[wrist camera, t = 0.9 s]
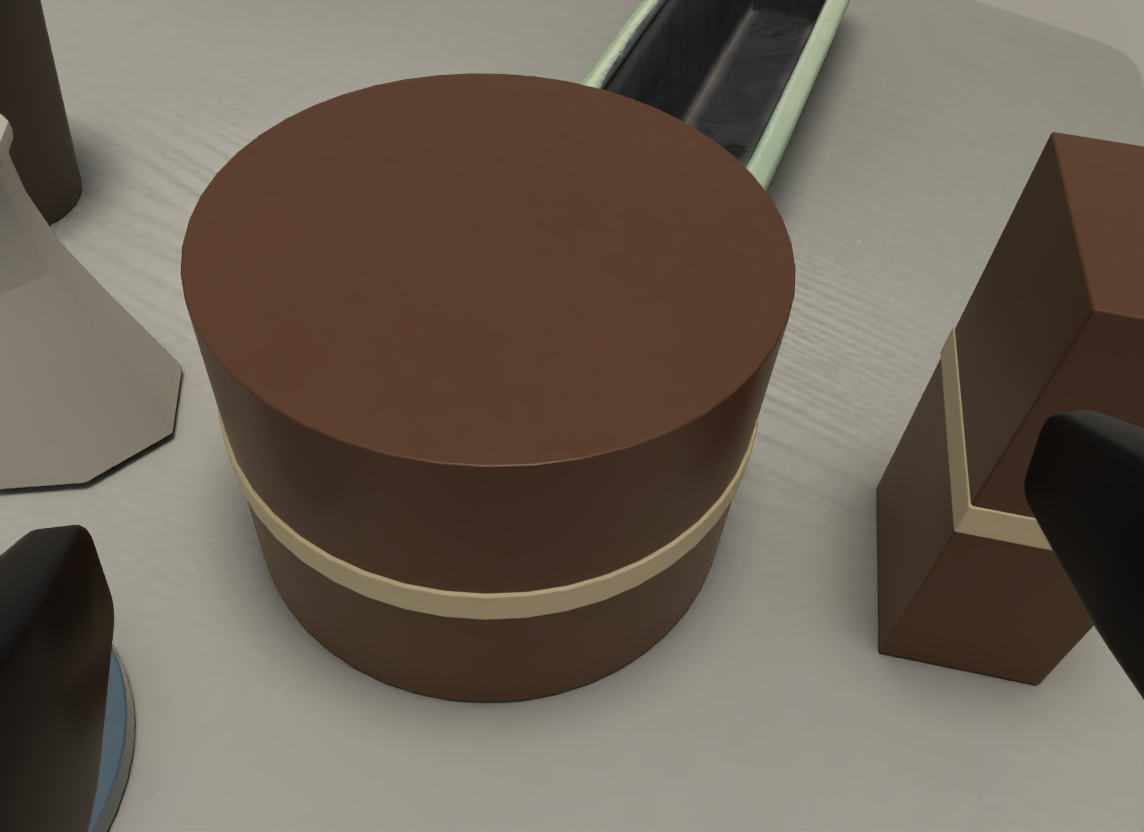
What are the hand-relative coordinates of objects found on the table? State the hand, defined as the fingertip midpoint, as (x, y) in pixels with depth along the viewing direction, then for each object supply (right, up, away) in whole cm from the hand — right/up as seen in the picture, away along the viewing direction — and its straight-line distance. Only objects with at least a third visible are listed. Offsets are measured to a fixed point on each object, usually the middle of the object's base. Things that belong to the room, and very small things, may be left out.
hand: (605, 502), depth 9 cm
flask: (-16, +1, +22) cm, 28 cm away
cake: (-3, -1, +21) cm, 21 cm away
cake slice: (+11, -4, +20) cm, 23 cm away
